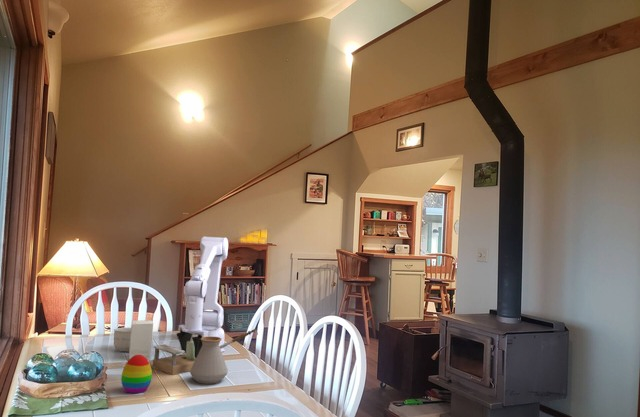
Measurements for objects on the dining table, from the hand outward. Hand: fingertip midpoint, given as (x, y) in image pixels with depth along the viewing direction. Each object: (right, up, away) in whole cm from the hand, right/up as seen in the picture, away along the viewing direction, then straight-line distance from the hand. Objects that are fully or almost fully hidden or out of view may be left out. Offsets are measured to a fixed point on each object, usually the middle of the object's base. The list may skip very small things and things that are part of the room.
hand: (191, 355), depth 168 cm
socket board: (-2, -3, -2) cm, 4 cm away
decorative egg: (-8, -2, -29) cm, 30 cm away
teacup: (-27, -3, +16) cm, 31 cm away
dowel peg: (0, -3, 0) cm, 3 cm away
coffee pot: (+14, -4, -13) cm, 19 cm away
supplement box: (-20, -3, +7) cm, 22 cm away
